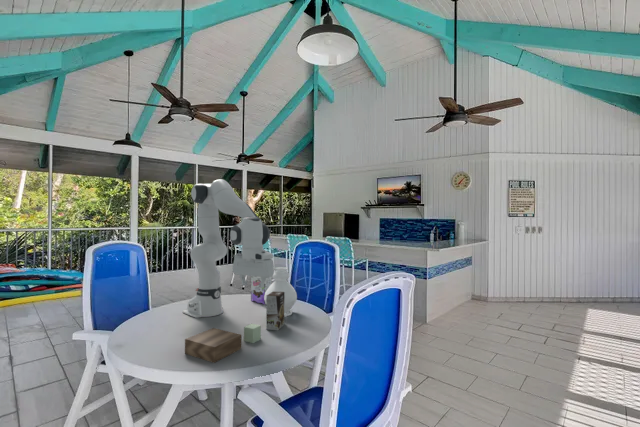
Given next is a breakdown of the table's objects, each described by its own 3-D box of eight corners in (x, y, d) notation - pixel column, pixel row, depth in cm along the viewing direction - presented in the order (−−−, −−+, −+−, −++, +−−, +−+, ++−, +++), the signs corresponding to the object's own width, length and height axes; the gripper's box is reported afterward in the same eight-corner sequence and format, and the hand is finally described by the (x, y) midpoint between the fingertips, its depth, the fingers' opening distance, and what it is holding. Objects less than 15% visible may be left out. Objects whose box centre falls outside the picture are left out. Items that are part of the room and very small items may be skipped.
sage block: (244, 341, 134) (244, 327, 134) (251, 337, 138) (251, 323, 138) (253, 343, 132) (253, 329, 132) (260, 339, 136) (260, 325, 136)
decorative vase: (303, 313, 172) (303, 268, 172) (277, 321, 159) (277, 272, 160) (283, 307, 184) (283, 264, 185) (257, 313, 172) (257, 268, 172)
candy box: (250, 300, 198) (250, 274, 198) (257, 299, 203) (257, 273, 203) (264, 304, 189) (264, 277, 190) (272, 302, 194) (272, 276, 194)
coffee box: (278, 330, 146) (279, 295, 146) (265, 329, 147) (265, 295, 148) (285, 324, 155) (285, 291, 155) (272, 323, 156) (272, 290, 157)
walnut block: (184, 354, 122) (185, 338, 122) (213, 342, 134) (213, 327, 134) (214, 363, 114) (214, 347, 114) (241, 349, 126) (241, 334, 126)
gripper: (229, 253, 138) (229, 285, 137) (266, 256, 128) (266, 290, 128) (239, 252, 143) (239, 282, 143) (275, 254, 133) (276, 287, 133)
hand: (252, 286), depth 135 cm, fingers open, 8 cm apart
